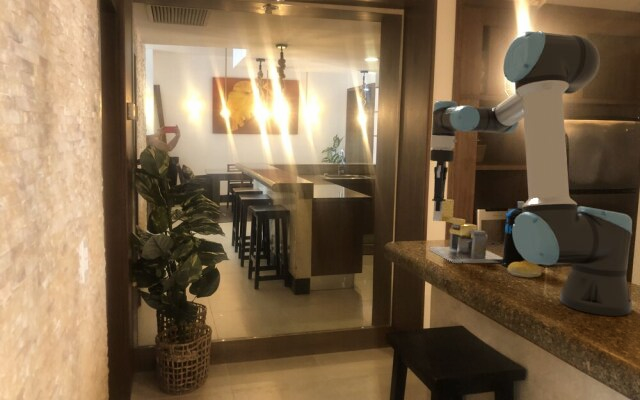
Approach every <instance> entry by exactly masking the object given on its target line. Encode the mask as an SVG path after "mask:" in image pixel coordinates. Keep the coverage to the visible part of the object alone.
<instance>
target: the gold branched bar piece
mask: <svg viewBox="0 0 640 400" xmlns="http://www.w3.org/2000/svg"><path fill="white" fill-rule="evenodd" d="M454 205H455V199H448V198H447V199H446V200H445V201H443V211H442V221H441V222H445V223H451V224H452V223H455V224H460V229H456V228H452V229H451V228H449V234H451V233H452V234H457V235H460V237H464V238H473V235H472V234H470V230H477V228H478V225H476V224H472V223H466V219H463V218H458V217H454ZM486 236H487V237H488V234H486Z"/></svg>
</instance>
